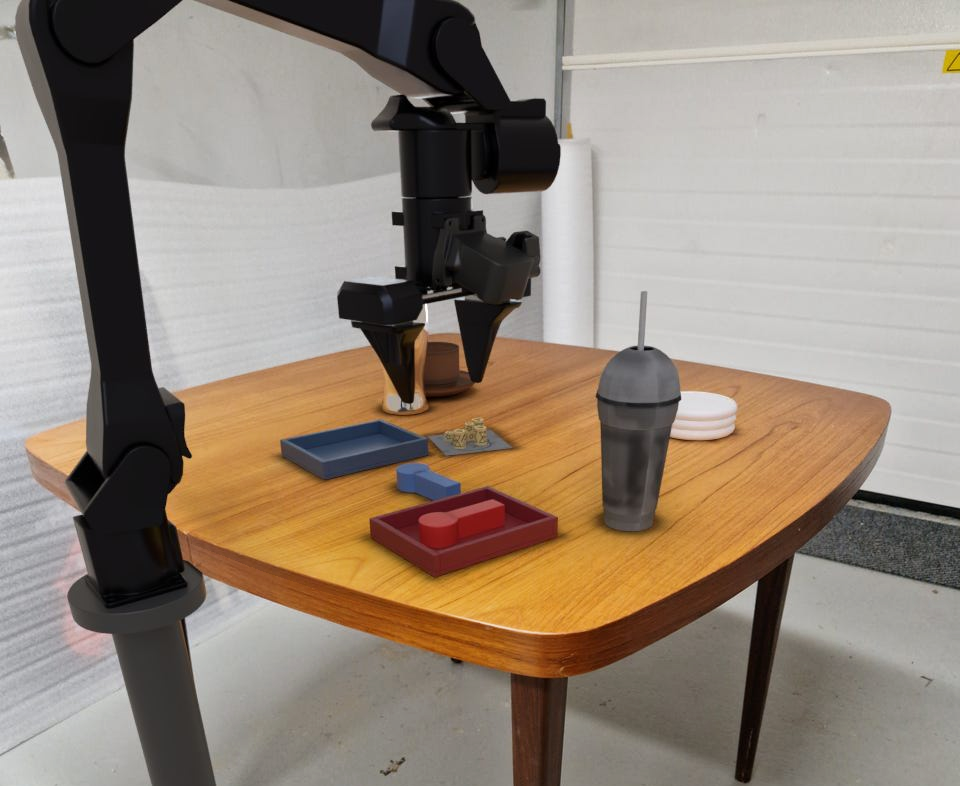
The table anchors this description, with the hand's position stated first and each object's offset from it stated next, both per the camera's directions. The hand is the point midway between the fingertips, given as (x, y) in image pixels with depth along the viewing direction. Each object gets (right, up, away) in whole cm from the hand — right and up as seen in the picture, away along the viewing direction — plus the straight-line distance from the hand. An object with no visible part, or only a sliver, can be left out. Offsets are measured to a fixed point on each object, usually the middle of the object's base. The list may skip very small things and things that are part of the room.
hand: (443, 392), depth 77 cm
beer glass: (-7, +8, +36) cm, 38 cm away
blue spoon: (-2, -8, +9) cm, 12 cm away
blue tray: (-11, -1, +20) cm, 23 cm away
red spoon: (+2, -13, -1) cm, 13 cm away
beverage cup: (+17, -12, +2) cm, 21 cm away
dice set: (+2, +1, +24) cm, 24 cm away
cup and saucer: (-3, +13, +44) cm, 46 cm away
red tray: (+2, -13, -1) cm, 13 cm away
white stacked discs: (+29, +3, +27) cm, 40 cm away
